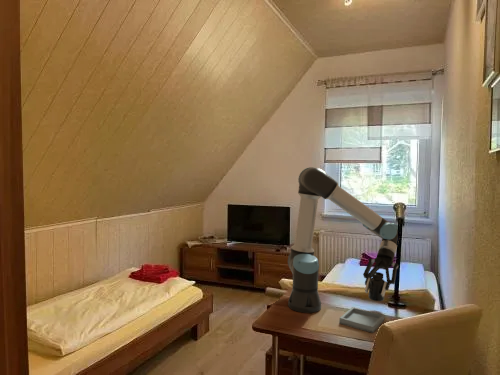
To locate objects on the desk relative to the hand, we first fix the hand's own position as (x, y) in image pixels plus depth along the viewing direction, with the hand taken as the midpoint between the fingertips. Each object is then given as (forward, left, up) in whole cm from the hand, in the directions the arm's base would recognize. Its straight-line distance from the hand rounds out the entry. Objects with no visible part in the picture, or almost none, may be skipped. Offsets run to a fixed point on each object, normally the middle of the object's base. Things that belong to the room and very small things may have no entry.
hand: (374, 293), depth 167 cm
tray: (0, -14, -8) cm, 17 cm away
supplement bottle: (0, +4, -4) cm, 5 cm away
